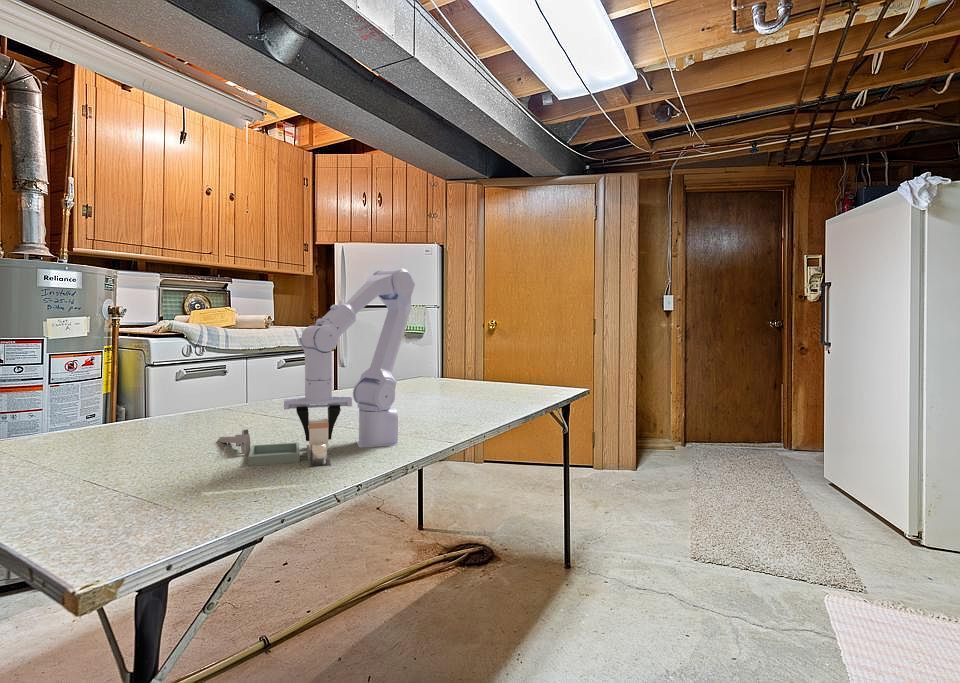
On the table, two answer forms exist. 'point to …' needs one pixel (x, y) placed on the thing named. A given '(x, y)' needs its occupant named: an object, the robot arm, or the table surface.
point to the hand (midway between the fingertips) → (318, 439)
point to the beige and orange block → (318, 431)
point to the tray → (274, 454)
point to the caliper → (239, 441)
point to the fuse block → (318, 455)
